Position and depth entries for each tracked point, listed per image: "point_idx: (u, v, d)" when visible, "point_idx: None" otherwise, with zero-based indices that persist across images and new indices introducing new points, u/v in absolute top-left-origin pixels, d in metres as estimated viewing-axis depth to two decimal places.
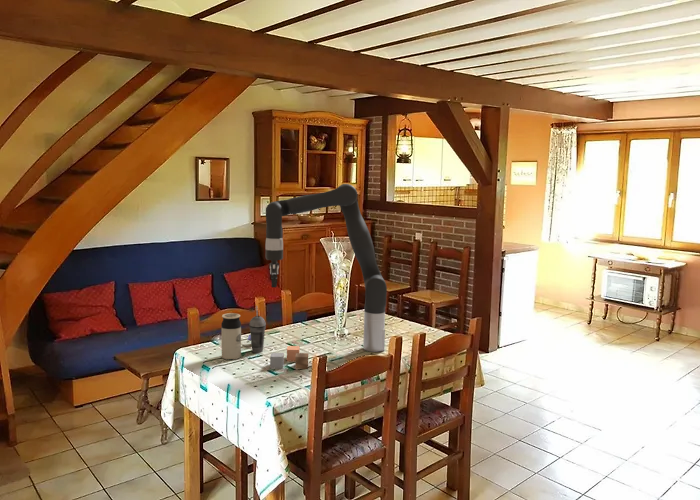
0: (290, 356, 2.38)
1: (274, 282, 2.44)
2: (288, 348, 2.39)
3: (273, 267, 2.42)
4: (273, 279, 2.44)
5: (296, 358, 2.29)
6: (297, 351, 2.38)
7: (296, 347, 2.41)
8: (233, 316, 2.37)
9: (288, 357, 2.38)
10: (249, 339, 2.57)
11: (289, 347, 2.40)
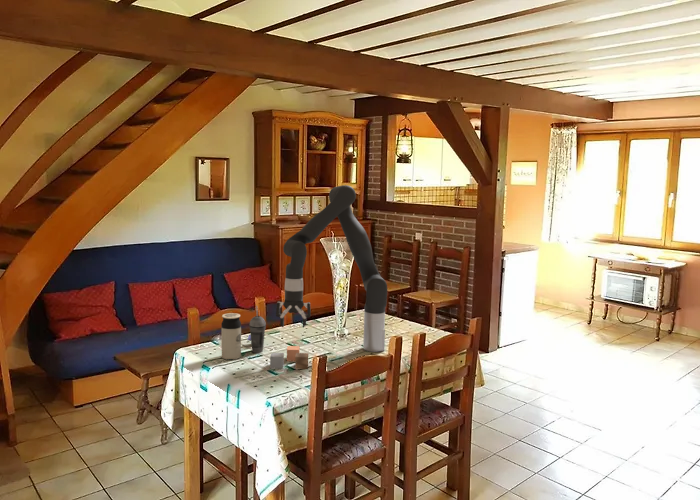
0: (290, 356, 2.38)
1: None
2: (288, 348, 2.39)
3: None
4: None
5: (296, 358, 2.29)
6: (297, 351, 2.38)
7: (296, 347, 2.41)
8: (233, 316, 2.37)
9: (288, 357, 2.38)
10: (249, 339, 2.57)
11: (289, 347, 2.40)
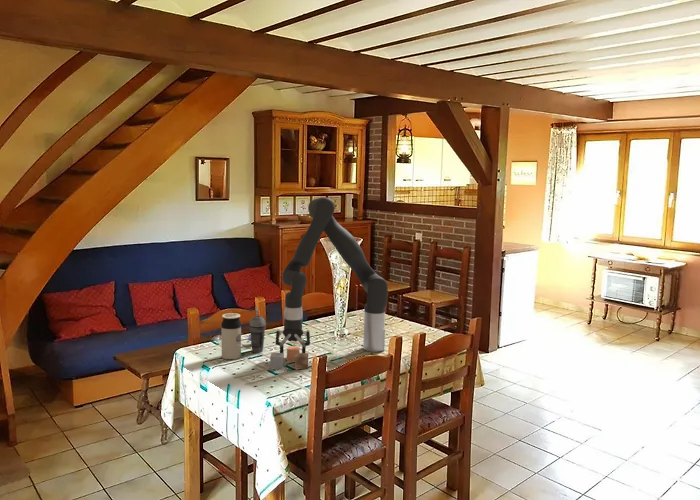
0: (290, 356, 2.38)
1: (305, 349, 2.41)
2: (288, 348, 2.39)
3: (309, 334, 2.39)
4: None
5: (296, 358, 2.29)
6: (297, 351, 2.38)
7: (296, 347, 2.41)
8: (233, 316, 2.37)
9: (288, 357, 2.38)
10: (249, 339, 2.57)
11: (289, 347, 2.40)
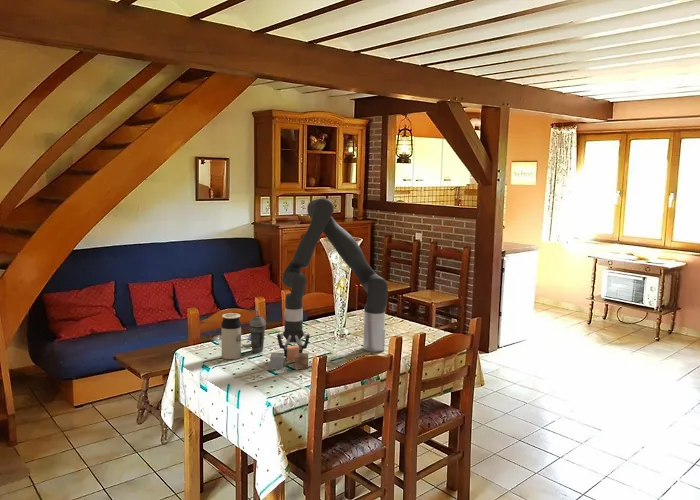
0: (290, 356, 2.38)
1: (302, 352, 2.41)
2: (288, 348, 2.39)
3: None
4: None
5: (296, 358, 2.29)
6: (297, 351, 2.38)
7: (296, 347, 2.41)
8: (233, 316, 2.37)
9: (288, 357, 2.38)
10: (249, 339, 2.57)
11: (289, 347, 2.40)
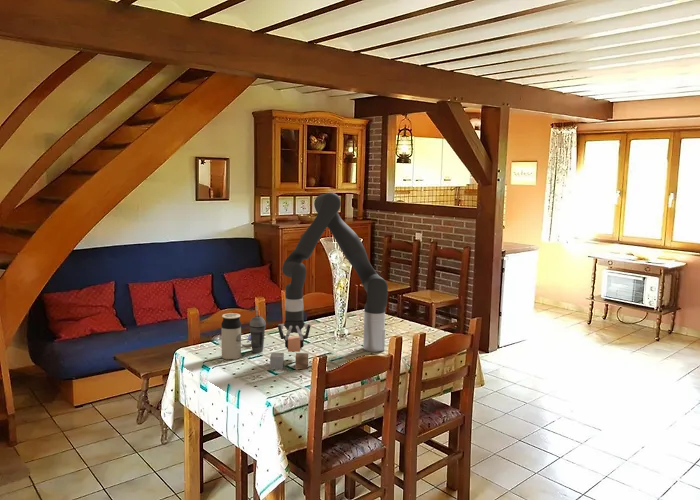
0: (291, 346, 2.37)
1: (303, 342, 2.40)
2: (289, 338, 2.38)
3: (309, 328, 2.39)
4: None
5: (296, 358, 2.29)
6: (298, 341, 2.37)
7: (297, 337, 2.40)
8: (233, 316, 2.37)
9: (289, 347, 2.37)
10: (249, 339, 2.57)
11: (290, 337, 2.40)
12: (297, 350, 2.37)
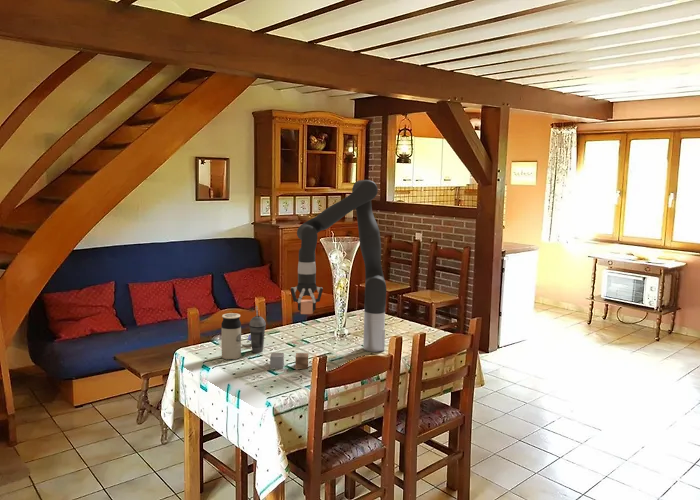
0: (304, 309, 2.42)
1: (315, 305, 2.45)
2: (302, 301, 2.43)
3: None
4: None
5: (296, 358, 2.29)
6: (311, 304, 2.42)
7: (309, 300, 2.45)
8: (233, 316, 2.37)
9: (302, 310, 2.42)
10: (249, 339, 2.57)
11: (303, 300, 2.45)
12: (309, 312, 2.42)
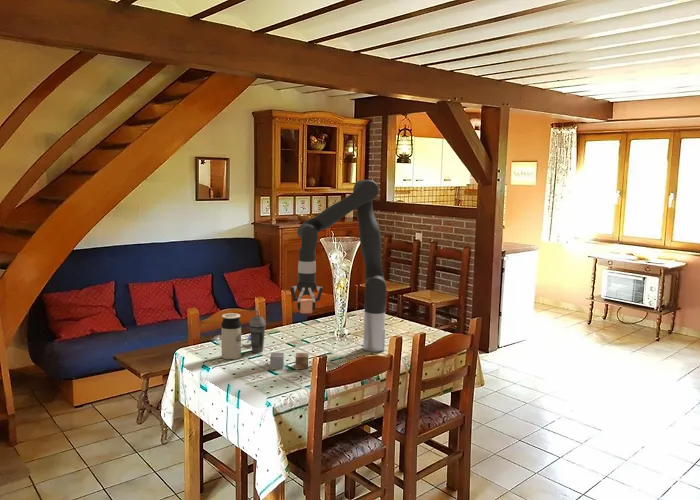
0: (303, 308, 2.42)
1: (315, 305, 2.45)
2: (301, 300, 2.44)
3: None
4: (315, 302, 2.44)
5: (296, 358, 2.29)
6: (310, 303, 2.42)
7: (309, 300, 2.45)
8: (233, 316, 2.37)
9: (302, 309, 2.42)
10: (249, 339, 2.57)
11: (302, 299, 2.45)
12: (309, 312, 2.43)
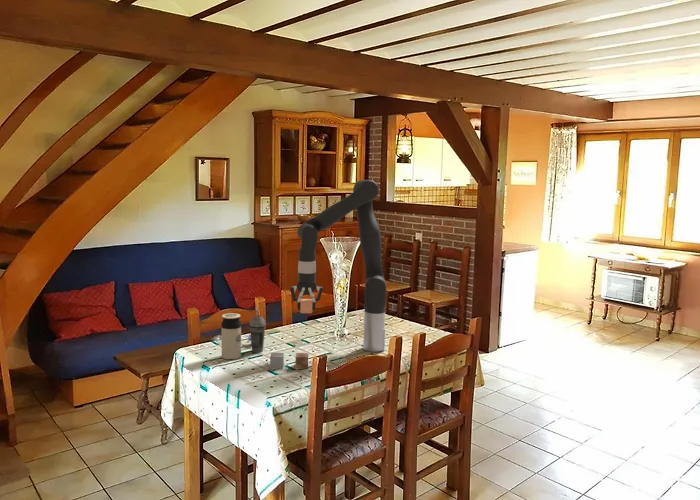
0: (303, 308, 2.42)
1: (315, 305, 2.45)
2: (301, 300, 2.44)
3: None
4: (315, 302, 2.44)
5: (296, 358, 2.29)
6: (310, 303, 2.42)
7: (309, 300, 2.45)
8: (233, 316, 2.37)
9: (302, 309, 2.42)
10: (249, 339, 2.57)
11: (302, 299, 2.45)
12: (309, 312, 2.43)
